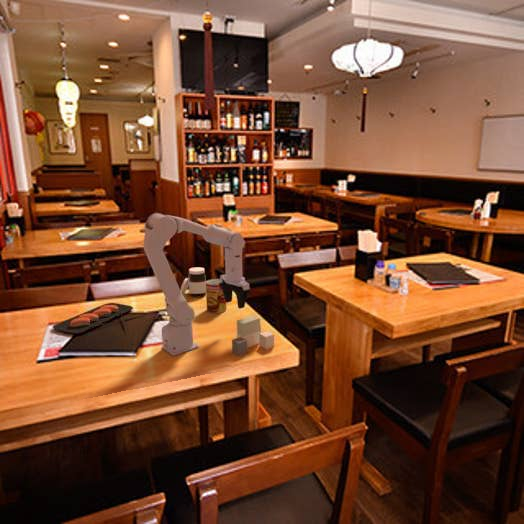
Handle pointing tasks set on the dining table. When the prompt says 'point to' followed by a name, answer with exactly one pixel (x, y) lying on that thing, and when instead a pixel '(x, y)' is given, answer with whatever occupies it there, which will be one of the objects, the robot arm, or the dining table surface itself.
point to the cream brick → (251, 338)
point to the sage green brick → (248, 325)
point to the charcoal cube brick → (239, 346)
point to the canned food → (215, 297)
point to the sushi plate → (83, 320)
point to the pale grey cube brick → (266, 340)
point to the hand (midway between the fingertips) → (234, 304)
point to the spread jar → (195, 282)
